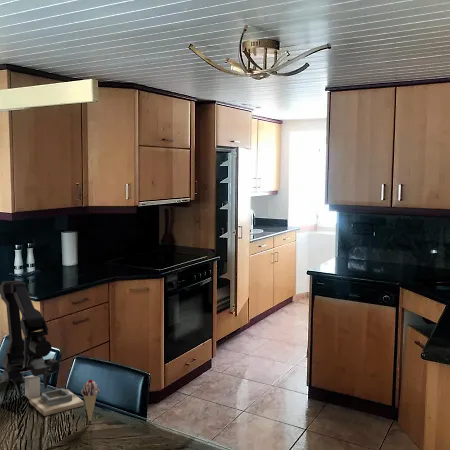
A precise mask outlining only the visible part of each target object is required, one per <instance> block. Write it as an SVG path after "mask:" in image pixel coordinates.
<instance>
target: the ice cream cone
mask: <svg viewBox="0 0 450 450" xmlns="http://www.w3.org/2000/svg"><path fill="white" fill-rule="evenodd" d="M80 392H81V393H80V394H81V395H82V396H83V401H84V406H85V409H86V413H87V414H86V415H87V419H88V424H89V425H91V422H92V417H93V414H94V409H95V404H96V399H97V396H98V394H99V393H100V388H99V387H98V384H97V382H96V381H94V380H92V379H89V380H88V381H85V383H84V384H83V386H82V389H81V390H80Z"/></svg>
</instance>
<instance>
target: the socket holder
mask: <svg viewBox="0 0 450 450" xmlns="http://www.w3.org/2000/svg"><path fill="white" fill-rule="evenodd" d="M28 403H30V405H31V406H32V407H33V408H35V409H36V410H37V411H38V412H39V413H40V414H41V415H42V416H43V417H46V416H50V415H53V414H54V415H55V414H57V413H62V412H64V411H68V410H73V409H77V408H79V407H83V406H85V400H84V399H83V400H82V399H81V398H80V396H79V397H78V396H77V395H76V394H75V393H73V392H72V391H71V390H69V389H67V388H66V389H65V388H63V387H62V388H57V389H54V390H49V391H46V392H40V396H36V397H32V398H29V399H28Z"/></svg>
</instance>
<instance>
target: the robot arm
mask: <svg viewBox="0 0 450 450" xmlns="http://www.w3.org/2000/svg"><path fill="white" fill-rule="evenodd" d="M27 288H28V287H27V283H26V282H23V281H20V280H11V281H10V280H8V281H2V282H1V284H0V299H1V300H2V301H3V302H4V303H5V305H6V307H5V308H6V315H7V316H6V317H7V319H6V320H7V325H8V326H7V327H8V330H7V331H8V339H9V340H8V341H9V342H8V344H7V346H6V348H5V354H4V356H3V358H2V360H1V362H2V364H1V365H2V367H3V368H4V369H3V376H4V377H5V378H4V381H5V382H6V383H7V384H8V385H9V386H10V385H11V386H12V385H14V387H15V390H16V392H17V395H19V396H21V393H22V390H21V383H25V376H24V374H25V373H26V374H27V373H30V372H31V375H33V376H42V375H43V376H42V377H43V380H42V381H43V389H44V390H47V387H48V385H49V382H50V379H51V377H52V376H53V374H54V373H57V371H60V369H61V362H60V361H59V360H57V359H56V358H47V359H44V357H47V356H48V355H50V353H51V351H52V349H53V347H52V344H51V342H50V341H48V340H47V337H46V336H47V335H49V333H48V332H49V328H48V325H47V322H46V320H45V318H44V316H43V315H42V313H41V311H40V310H37V309H36V308H35V307H34V303H33V301H32V299H31V297H30V294H29V292H28V290H27ZM23 336H24V337H23Z"/></svg>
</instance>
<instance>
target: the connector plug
mask: <svg viewBox="0 0 450 450" xmlns="http://www.w3.org/2000/svg"><path fill="white" fill-rule="evenodd" d="M24 378H25V382H24V396H25V397H26V398H27V399H28V400H29V398H32V397H36V396H40V395H41V377H40V375H38V376H33V375H32V374H31V375H27V376H24Z"/></svg>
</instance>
